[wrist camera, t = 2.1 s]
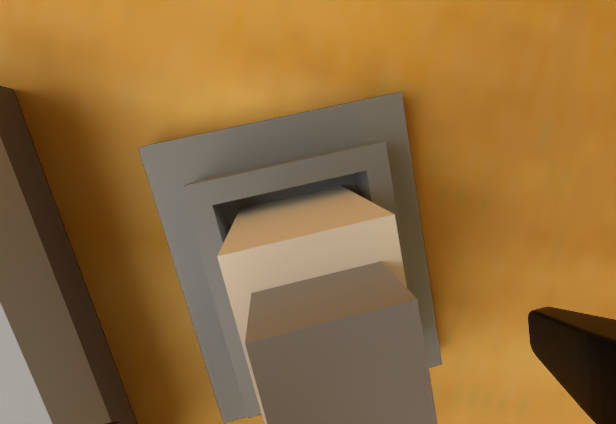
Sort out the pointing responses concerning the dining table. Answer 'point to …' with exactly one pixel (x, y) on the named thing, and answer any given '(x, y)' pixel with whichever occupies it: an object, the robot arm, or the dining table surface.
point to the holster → (273, 186)
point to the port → (45, 302)
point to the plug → (327, 312)
